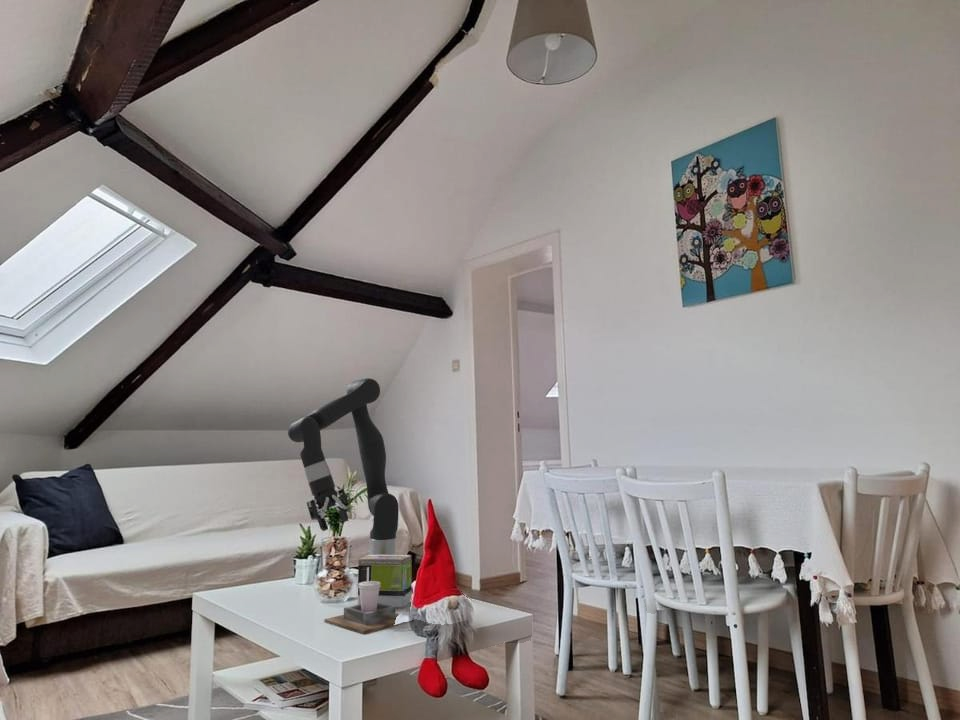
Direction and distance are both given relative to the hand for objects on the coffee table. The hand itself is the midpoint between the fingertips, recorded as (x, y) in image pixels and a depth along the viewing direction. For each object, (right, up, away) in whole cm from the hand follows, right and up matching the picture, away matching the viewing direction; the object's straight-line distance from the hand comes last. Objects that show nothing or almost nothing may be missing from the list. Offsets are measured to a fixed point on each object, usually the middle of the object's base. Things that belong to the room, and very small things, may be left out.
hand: (335, 525), depth 197 cm
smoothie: (+14, -21, -21) cm, 33 cm away
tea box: (+16, -25, -1) cm, 30 cm away
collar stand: (+15, -22, -21) cm, 34 cm away
